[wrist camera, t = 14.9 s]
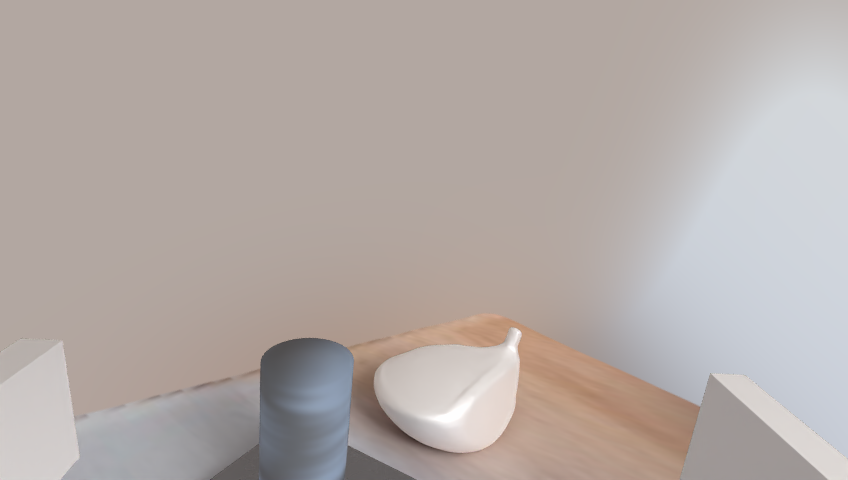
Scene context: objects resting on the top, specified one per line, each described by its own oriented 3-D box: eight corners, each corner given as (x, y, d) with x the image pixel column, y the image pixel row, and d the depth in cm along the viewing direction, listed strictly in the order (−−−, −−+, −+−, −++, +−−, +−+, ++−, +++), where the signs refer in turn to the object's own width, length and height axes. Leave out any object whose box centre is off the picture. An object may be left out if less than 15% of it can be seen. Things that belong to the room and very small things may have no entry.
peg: (343, 516, 29) (357, 341, 26) (334, 587, 25) (349, 388, 22) (269, 513, 29) (273, 335, 26) (247, 585, 25) (248, 382, 21)
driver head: (569, 342, 38) (445, 292, 33) (530, 479, 36) (393, 448, 31) (492, 324, 47) (387, 283, 42) (458, 432, 45) (344, 402, 40)
